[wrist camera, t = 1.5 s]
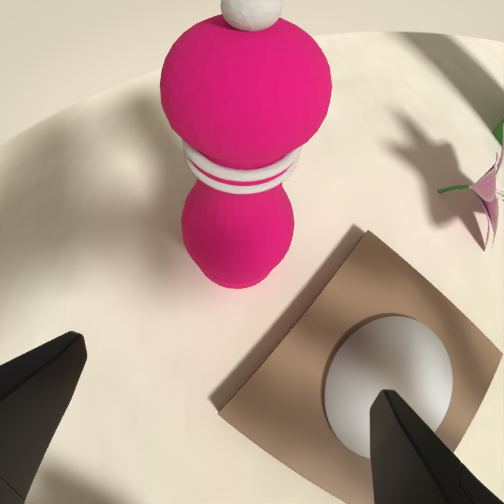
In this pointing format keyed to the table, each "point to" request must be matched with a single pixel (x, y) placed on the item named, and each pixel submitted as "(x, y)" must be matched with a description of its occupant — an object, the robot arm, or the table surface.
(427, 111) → the table surface
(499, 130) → the hardback book
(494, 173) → the lily
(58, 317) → the table surface
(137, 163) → the table surface
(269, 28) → the pepper mill
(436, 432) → the brown flat square slab
